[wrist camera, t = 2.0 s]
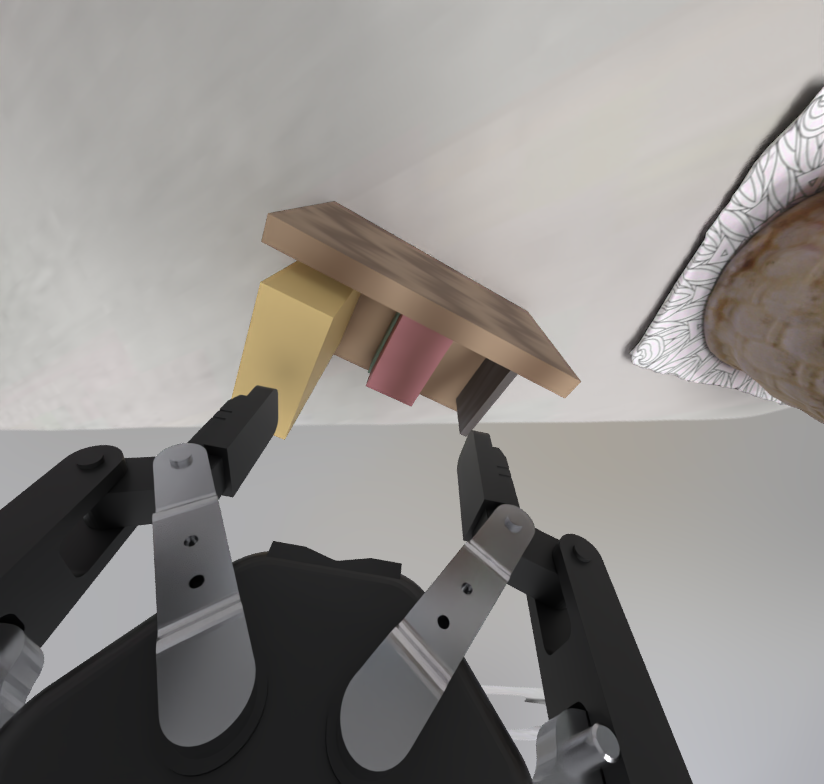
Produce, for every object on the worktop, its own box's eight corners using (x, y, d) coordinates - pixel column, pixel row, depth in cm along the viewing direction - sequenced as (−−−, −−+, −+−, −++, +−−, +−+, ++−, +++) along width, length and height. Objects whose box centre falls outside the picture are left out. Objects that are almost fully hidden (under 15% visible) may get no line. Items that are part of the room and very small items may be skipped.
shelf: (292, 327, 37) (224, 399, 25) (334, 201, 30) (268, 213, 18) (458, 405, 41) (469, 497, 29) (528, 311, 34) (581, 381, 22)
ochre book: (304, 327, 35) (226, 417, 22) (336, 238, 30) (260, 282, 17) (339, 344, 36) (284, 439, 23) (375, 259, 31) (333, 317, 18)
